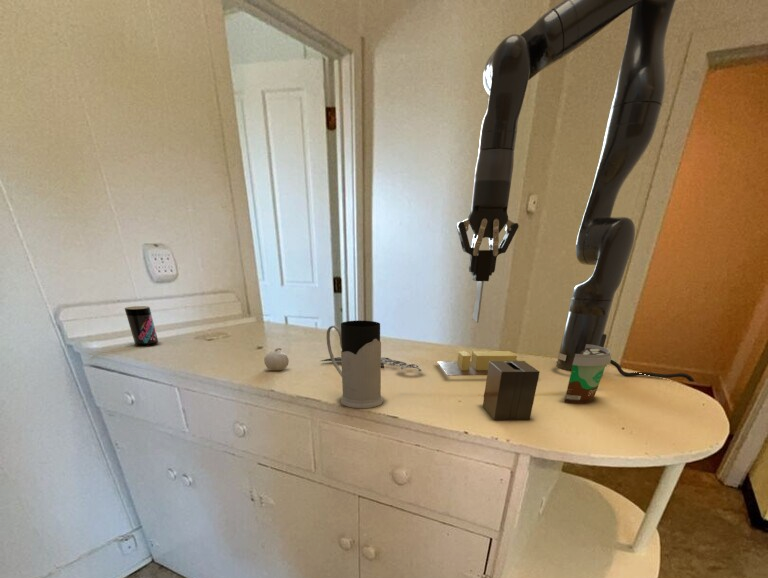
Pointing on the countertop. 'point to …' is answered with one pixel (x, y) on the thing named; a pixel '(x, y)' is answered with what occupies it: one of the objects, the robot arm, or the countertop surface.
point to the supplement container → (141, 325)
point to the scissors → (385, 361)
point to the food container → (587, 374)
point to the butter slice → (463, 360)
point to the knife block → (510, 390)
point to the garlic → (276, 360)
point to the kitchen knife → (481, 278)
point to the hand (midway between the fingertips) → (481, 274)
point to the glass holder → (359, 363)
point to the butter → (489, 358)
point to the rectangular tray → (454, 370)
